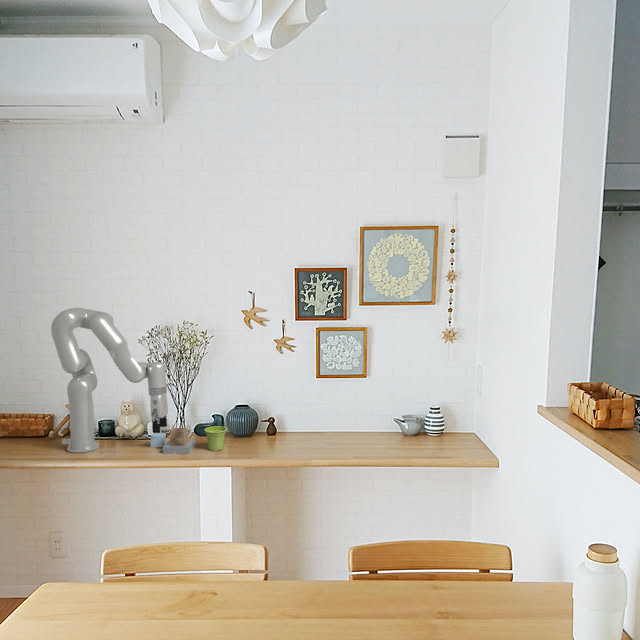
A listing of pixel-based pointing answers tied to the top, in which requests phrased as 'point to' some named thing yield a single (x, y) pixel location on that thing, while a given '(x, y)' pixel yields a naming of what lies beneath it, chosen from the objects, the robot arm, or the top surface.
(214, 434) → the plant pot
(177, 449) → the slate base
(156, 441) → the blue block
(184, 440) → the walnut block
